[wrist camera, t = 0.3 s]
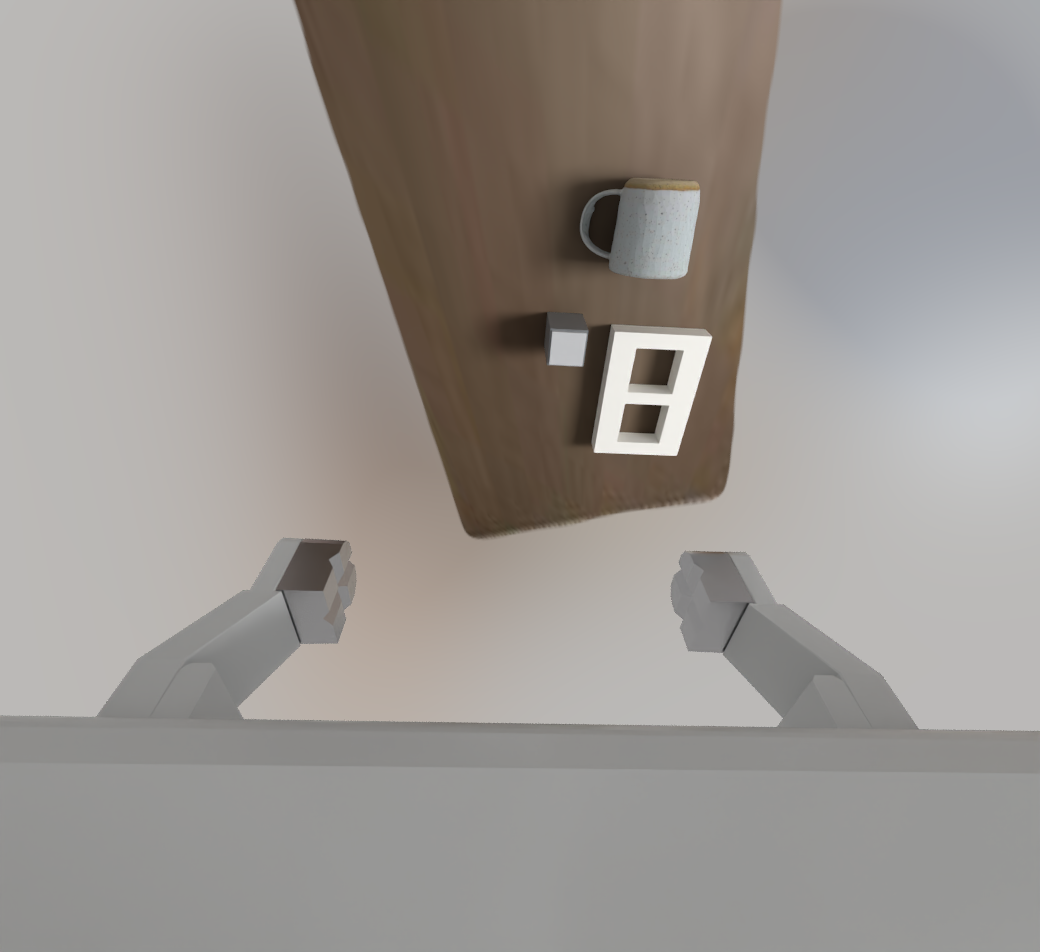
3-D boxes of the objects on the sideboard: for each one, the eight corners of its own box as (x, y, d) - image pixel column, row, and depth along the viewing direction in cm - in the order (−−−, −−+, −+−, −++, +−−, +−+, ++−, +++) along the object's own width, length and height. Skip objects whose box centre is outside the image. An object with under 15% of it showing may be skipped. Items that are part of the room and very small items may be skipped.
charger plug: (547, 311, 54) (550, 329, 49) (582, 313, 54) (589, 331, 49) (544, 346, 56) (547, 366, 51) (577, 347, 56) (583, 368, 52)
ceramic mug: (691, 175, 46) (717, 182, 40) (674, 265, 51) (695, 283, 45) (582, 174, 46) (591, 180, 40) (575, 264, 51) (583, 282, 45)
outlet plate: (611, 324, 55) (615, 331, 53) (704, 329, 55) (712, 336, 53) (591, 442, 64) (594, 452, 62) (671, 445, 65) (676, 455, 63)
